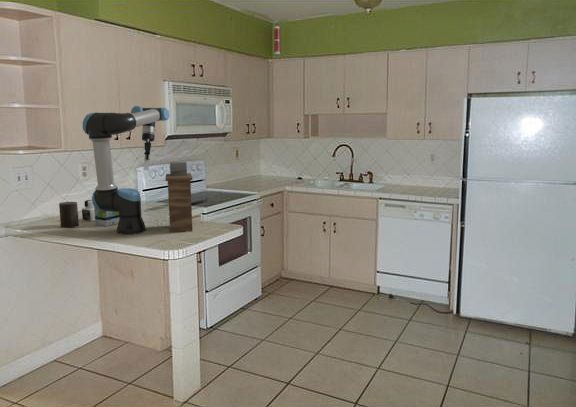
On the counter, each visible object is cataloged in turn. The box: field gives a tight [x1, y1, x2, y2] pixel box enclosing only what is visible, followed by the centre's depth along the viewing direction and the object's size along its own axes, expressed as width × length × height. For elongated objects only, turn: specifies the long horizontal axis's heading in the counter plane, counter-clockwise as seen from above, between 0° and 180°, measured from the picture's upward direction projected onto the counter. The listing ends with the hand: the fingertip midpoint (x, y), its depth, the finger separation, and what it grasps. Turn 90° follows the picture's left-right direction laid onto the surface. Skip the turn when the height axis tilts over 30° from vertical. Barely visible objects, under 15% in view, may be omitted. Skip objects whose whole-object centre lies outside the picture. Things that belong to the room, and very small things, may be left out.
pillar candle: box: [58, 201, 80, 229], centre depth 286 cm, size 10×10×15 cm
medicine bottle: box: [81, 199, 95, 222], centre depth 302 cm, size 7×7×12 cm
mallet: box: [169, 161, 188, 176], centre depth 286 cm, size 25×9×7 cm, turn 13°
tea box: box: [94, 207, 119, 227], centre depth 293 cm, size 15×10×15 cm
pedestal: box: [165, 172, 193, 233], centre depth 277 cm, size 19×14×30 cm
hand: (146, 167), depth 305 cm, fingers open, 13 cm apart
